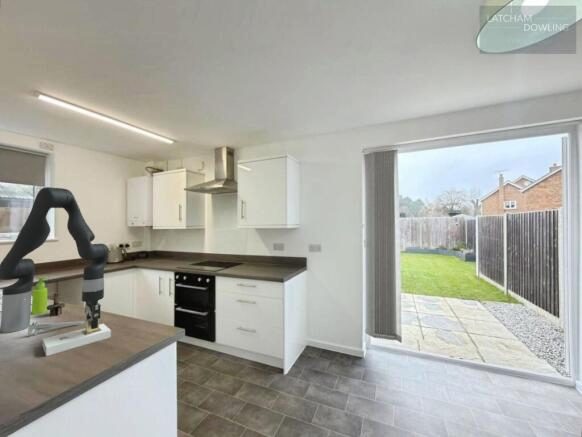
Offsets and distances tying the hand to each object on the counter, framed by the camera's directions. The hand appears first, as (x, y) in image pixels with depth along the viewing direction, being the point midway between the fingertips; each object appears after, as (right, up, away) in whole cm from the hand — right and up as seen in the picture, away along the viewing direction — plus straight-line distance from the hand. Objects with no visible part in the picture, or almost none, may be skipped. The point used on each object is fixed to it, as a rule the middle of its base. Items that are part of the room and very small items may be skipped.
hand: (91, 325), depth 104 cm
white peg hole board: (-3, -5, -4) cm, 7 cm away
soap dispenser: (-56, -7, +31) cm, 64 cm away
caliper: (-23, -6, +9) cm, 25 cm away
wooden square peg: (0, -5, 0) cm, 5 cm away
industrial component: (-44, -7, +28) cm, 53 cm away
